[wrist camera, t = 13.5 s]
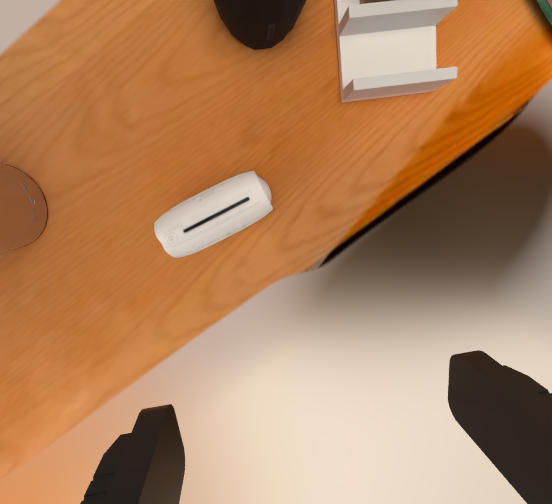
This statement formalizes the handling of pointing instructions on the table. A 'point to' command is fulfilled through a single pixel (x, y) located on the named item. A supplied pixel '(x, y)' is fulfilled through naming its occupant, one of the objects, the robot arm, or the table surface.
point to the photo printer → (214, 214)
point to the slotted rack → (389, 47)
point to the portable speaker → (259, 19)
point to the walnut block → (372, 1)
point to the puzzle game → (546, 8)
